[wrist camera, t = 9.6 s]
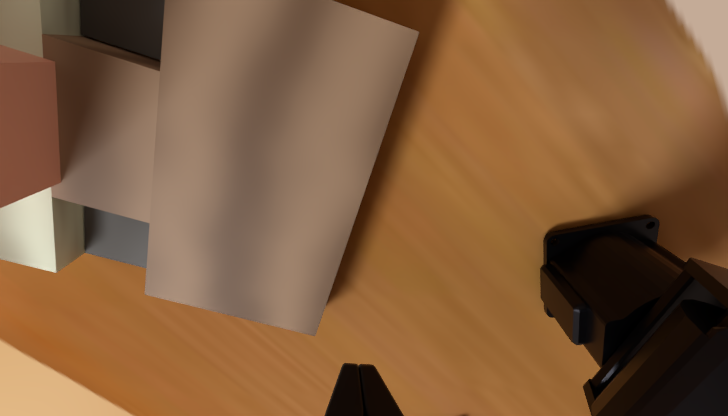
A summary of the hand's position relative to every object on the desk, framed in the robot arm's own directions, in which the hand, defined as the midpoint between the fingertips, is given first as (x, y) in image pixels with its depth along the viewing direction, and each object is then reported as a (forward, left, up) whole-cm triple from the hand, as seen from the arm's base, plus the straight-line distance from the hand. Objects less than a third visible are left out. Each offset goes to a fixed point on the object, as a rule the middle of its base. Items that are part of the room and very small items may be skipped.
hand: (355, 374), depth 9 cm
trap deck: (+10, -6, -12) cm, 17 cm away
